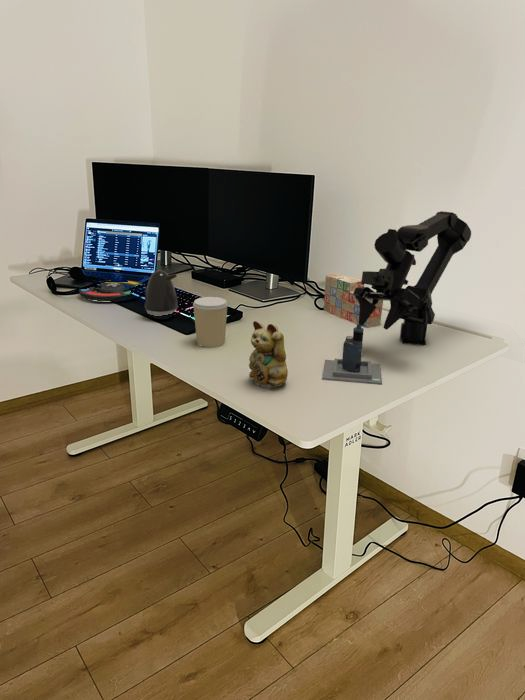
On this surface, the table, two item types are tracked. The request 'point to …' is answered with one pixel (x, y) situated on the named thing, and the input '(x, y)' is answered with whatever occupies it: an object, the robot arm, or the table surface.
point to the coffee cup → (210, 321)
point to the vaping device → (353, 350)
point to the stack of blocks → (347, 300)
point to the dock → (366, 374)
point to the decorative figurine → (268, 356)
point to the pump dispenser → (160, 294)
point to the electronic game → (108, 290)
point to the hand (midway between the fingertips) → (372, 327)
